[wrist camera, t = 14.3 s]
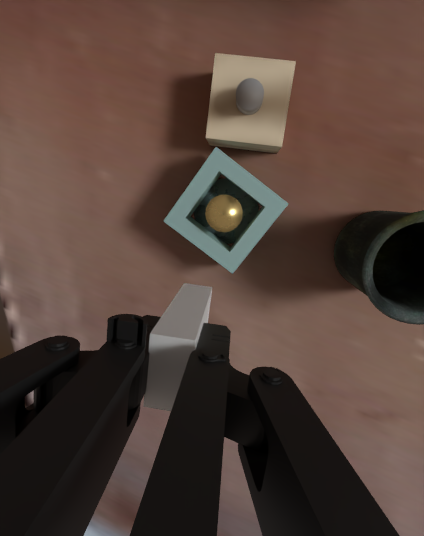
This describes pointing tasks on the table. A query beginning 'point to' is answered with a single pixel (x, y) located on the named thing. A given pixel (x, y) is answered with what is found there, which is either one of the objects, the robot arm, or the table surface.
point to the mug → (386, 261)
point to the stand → (249, 102)
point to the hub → (226, 211)
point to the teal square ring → (199, 189)
